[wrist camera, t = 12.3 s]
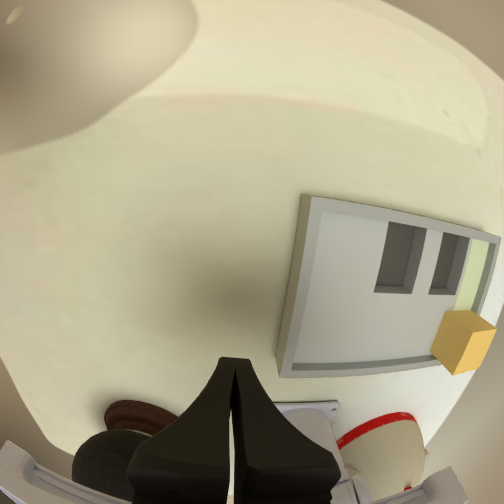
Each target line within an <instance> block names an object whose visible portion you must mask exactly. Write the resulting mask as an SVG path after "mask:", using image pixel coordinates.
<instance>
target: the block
mask: <svg viewBox="0 0 504 504" xmlns="http://www.w3.org/2000/svg"><path fill="white" fill-rule="evenodd" d="M496 330H497V328H495V327H494V326H493V325H491V324H490V323H488V322H487V321H486V320H484V319H483V318H481V317H480V316H479V315H477V314H476V313H474V312H473V311H471V310H460V311H445V313H444V315H443V318H442V321H441V324H440V326H439V329H438V331H437V334H436V336H435V339H434V341H433V344H432V346H431V348H430V352H431V353H432V354H433V355H434V356H435V357H436V358H437V359H438V360H439V361H440V362H441V363H442V364H443V366H444V367H445V368H446V369H447V370H448V371H449V372H450V373H451V374H452V375H456V374H460V373H464V372H467V371H471V370H474V369H477V368H479V366H480V364H481V362H482V360H483V358H484V356H485V354H486V352H487V350H488V348H489V346H490V344H491V341H492V339H493V337H494V334H495V332H496Z"/></svg>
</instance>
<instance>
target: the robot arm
mask: <svg viewBox="0 0 504 504" xmlns="http://www.w3.org/2000/svg"><path fill="white" fill-rule="evenodd" d="M338 408H339V402H337V401H333V402H316V403H273V402H272V401H271V399H270V398H269V396H268V395H267V393H266V392H265V390H264V388H263V387H262V385H261V383H260V382H259V380H258V378H257V376H256V374H255V371H254V369H253V367H252V364H251V361H250V360H249V359H242V358H229V357H221V358H219V361H218V364H217V366H216V369H215V371H214V373H213V375H212V376H211V378H210V380H209V381H208V383H207V385H206V386H205V388H204V389H203V390H202V392H201V393H200V394H199V396H198V397H197V398H196V400H195V401H194V402H193V403H192V404H191V405H190V406H189V407H188V409H187V410H186V411H184V412H183V413H182V414H181V415H180V416H179V417H178V418H177V419H176V420H175V421H173V422H172V423H171V424H170V425H168V426H167V427H165V428H164V429H163V430H161V431H160V432H158V433H157V434H155V435H154V436H152V437H150V438H148V439H147V440H145V441H143V442H141V443H140V444H139V446H138V447H137V449H136V450H135V452H134V454H133V456H132V458H131V460H130V462H129V466H128V469H127V472H126V476H127V479H128V481H129V482H130V484H131V486H132V488H133V489H134V491H135V492H134V496H133V500H132V502H129V501H125V500H122V499H119V498H115V497H112V496H109V495H106V494H103V493H101V492H98V491H95V490H92V489H90V488H87V487H85V486H82V485H80V484H78V483H75V482H73V481H71V480H68V479H66V478H64V477H62V476H60V475H58V474H56V473H54V472H52V471H50V470H47V469H46V468H44V467H42V466H40V465H38V464H37V463H36V462H35V460H34V459H33V458H32V457H31V455H29V454H28V453H27V452H26V451H24V450H23V449H21V448H20V447H18V446H16V445H15V444H13V443H12V442H10V441H6V443H5V444H4V446H3V447H2V449H1V450H0V489H1V490H2V491H3V492H4V493H5V494H6V495H7V496H8V497H10V498H11V499H12V500H13V501H14V502H16V503H17V504H226V503H227V496H228V489H229V482H230V456H229V418H230V411H231V413H232V425H233V436H234V449H235V462H234V504H466V503H467V502H468V501H469V497H468V496H467V494H466V492H465V490H464V488H463V487H462V485H461V483H460V482H459V480H458V478H457V476H456V475H455V473H454V471H453V470H452V468H451V466H449V467H447V468H445V469H443V470H441V471H438V472H436V473H434V474H432V475H431V476H429V477H428V478H427V479H425V480H424V481H423V483H422V484H421V485H418V486H416V487H413V488H411V489H408V490H406V491H403V492H400V493H397V494H394V495H391V496H388V497H385V498H382V499H379V500H375V501H373V498H372V495H371V493H370V490H369V487H368V485H367V483H366V480H365V479H364V477H361V476H358V475H357V474H356V475H354V476H351V479H352V482H353V487H352V484H351V481H350V478H349V475H348V472H347V469H345V467H344V464H343V461H342V458H341V455H340V452H339V449H338V446H337V443H336V440H335V437H334V434H333V431H332V428H331V423H332V421H333V419H334V417H335V414H336V412H337V410H338ZM353 488H354V490H353ZM354 491H355V493H354ZM355 494H356V495H355Z"/></svg>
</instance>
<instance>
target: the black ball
mask: <svg viewBox="0 0 504 504" xmlns="http://www.w3.org/2000/svg"><path fill="white" fill-rule="evenodd" d="M177 418H178V417H177V416H176V415H174V414H172V413H170V412H169V411H167V410H165V409H162V408H160V407H158V406H155V405H152V404H149V403H145V402H141V401H134V400H122V401H117V402H115V403H113V404H111V405H110V406H109V407H108V409H107V411H106V413H105V416H104V421H105V424H106V426H107V430H108V431H103V432H100V433H98V434H96V435H94V436H92V437H90V438H89V439H88V440H87V441H86V442H85V443H83V444H82V445H81V446H80V448H79V449H78V451H77V452H76V454H75V458H74V461H73V464H72V480H73V482H75V483H78V484H80V485H82V486H85V487H87V488H90V489H92V490H95V491H98V492H101V493H103V494H106V495H109V496H112V497H115V498H119V499H122V500H125V501H129V502H132V500H133V496H134V492H135V491H134V489H133V488H132V486H131V484H130V482H129V481H128V479H127V476H126V472H127V469H128V466H129V462H130V460H131V458H132V456H133V454H134V452H135V450H136V449H137V447H138V446H139V444H140V443H141V442H143V441H145V440H147V439H148V438H150V437H152V436H154V435H155V434H157V433H158V432H160V431H161V430H163V429H164V428H165V427H167V426H168V425H170V424H171V423H172V422H173V421H175V420H176V419H177Z"/></svg>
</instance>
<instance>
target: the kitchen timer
mask: <svg viewBox="0 0 504 504" xmlns="http://www.w3.org/2000/svg"><path fill="white" fill-rule="evenodd" d="M336 443H337V446H338V449H339V452H340V455H341V458H342V461H343V464H344V467H345V469H347V472H348V475H349V478H350V481H351V484H352V487H353V482H352V479H351V476H354V475H356V474H357V475H358V476H361V477H364V479H365V480H366V483H367V485H368V487H369V490H370V493H371V495H372V498H373V501H375V500H379V499H382V498H385V497H388V496H391V495H394V494H397V493H400V492H403V491H406V490H408V489H411V488H413V487H416V486H418V484H419V482H420V479H421V477H422V474H423V470H424V464H425V459H427V458H428V457H429V454H428V452H427V450H426V449H425V448H424V443H423V438H422V434H421V431H420V428H419V426H418V424H417V422H416V420H415V419H414V417H413V416H412V415H411V414H409V413H406V412H396V413H391V414H386V415H383V416H380V417H378V418H375V419H372V420H370V421H368V422H366V423H364V424H362V425H360V426H358V427H356V428H354V429H353V430H351V431H350V432H348V433H346V434H345V435H344V436H342V437H341V438H340V439H339V440H338V441H336ZM353 490H354V488H353ZM354 493H355V491H354ZM355 495H356V494H355Z"/></svg>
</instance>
